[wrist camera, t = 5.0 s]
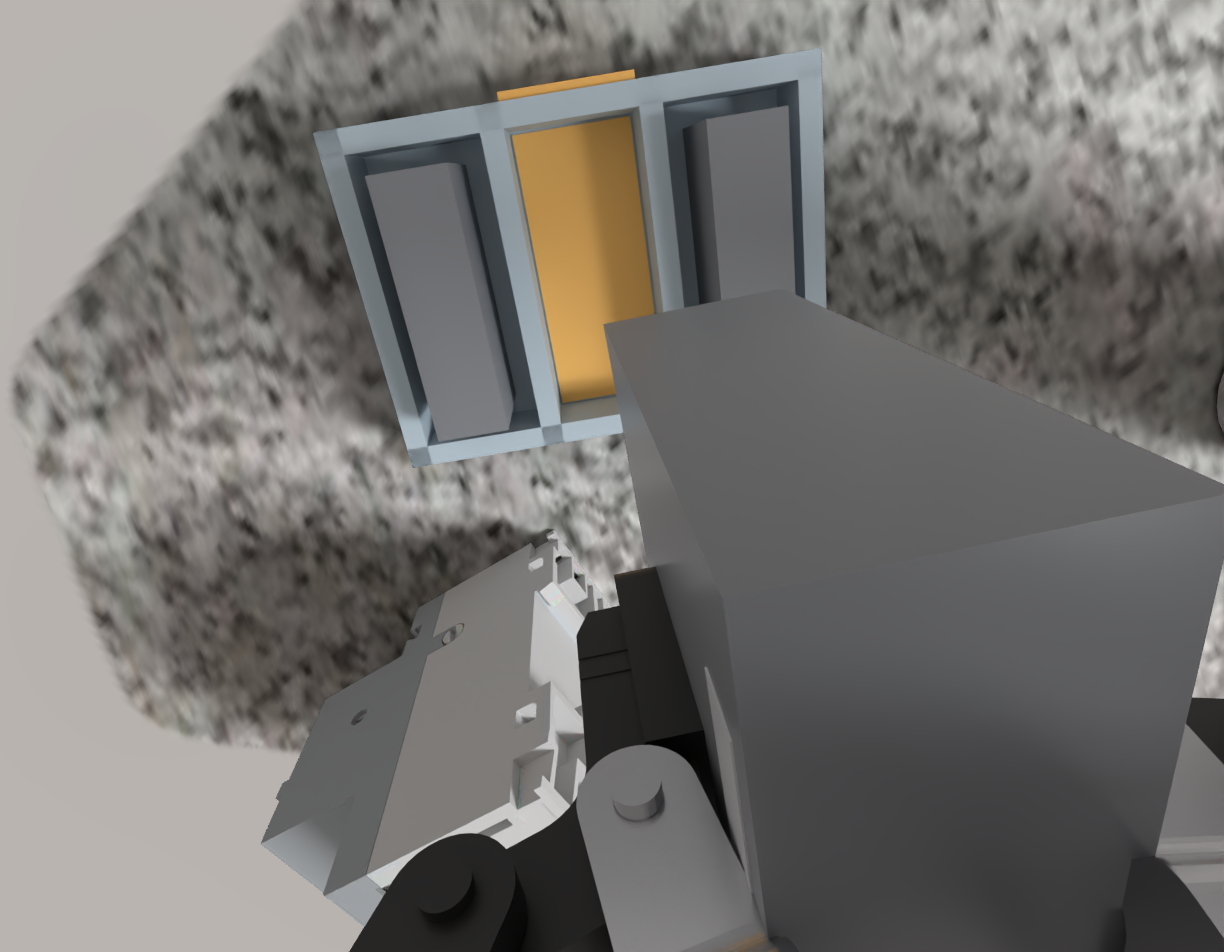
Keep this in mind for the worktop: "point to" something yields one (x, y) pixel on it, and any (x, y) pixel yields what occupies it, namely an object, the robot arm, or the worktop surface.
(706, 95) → the rack
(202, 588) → the worktop surface
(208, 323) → the worktop surface
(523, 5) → the worktop surface
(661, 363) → the rectangular block
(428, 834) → the circuit breaker
